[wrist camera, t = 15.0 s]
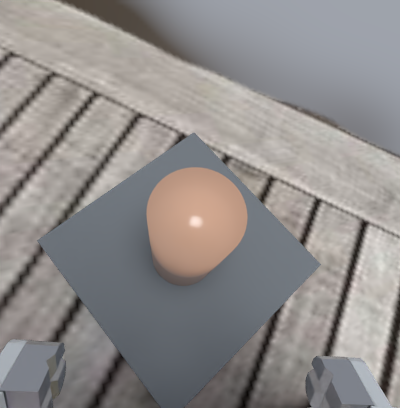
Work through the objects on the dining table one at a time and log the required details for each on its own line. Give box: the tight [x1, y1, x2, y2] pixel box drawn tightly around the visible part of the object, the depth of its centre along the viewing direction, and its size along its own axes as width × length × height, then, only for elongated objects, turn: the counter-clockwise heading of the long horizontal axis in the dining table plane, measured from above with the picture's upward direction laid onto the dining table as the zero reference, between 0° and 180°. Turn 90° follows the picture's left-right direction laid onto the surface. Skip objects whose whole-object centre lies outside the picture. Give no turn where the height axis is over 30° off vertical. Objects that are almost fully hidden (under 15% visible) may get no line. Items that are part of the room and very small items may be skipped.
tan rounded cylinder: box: [146, 167, 247, 286], centre depth 20 cm, size 5×5×10 cm
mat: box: [37, 133, 321, 408], centre depth 25 cm, size 16×16×1 cm
